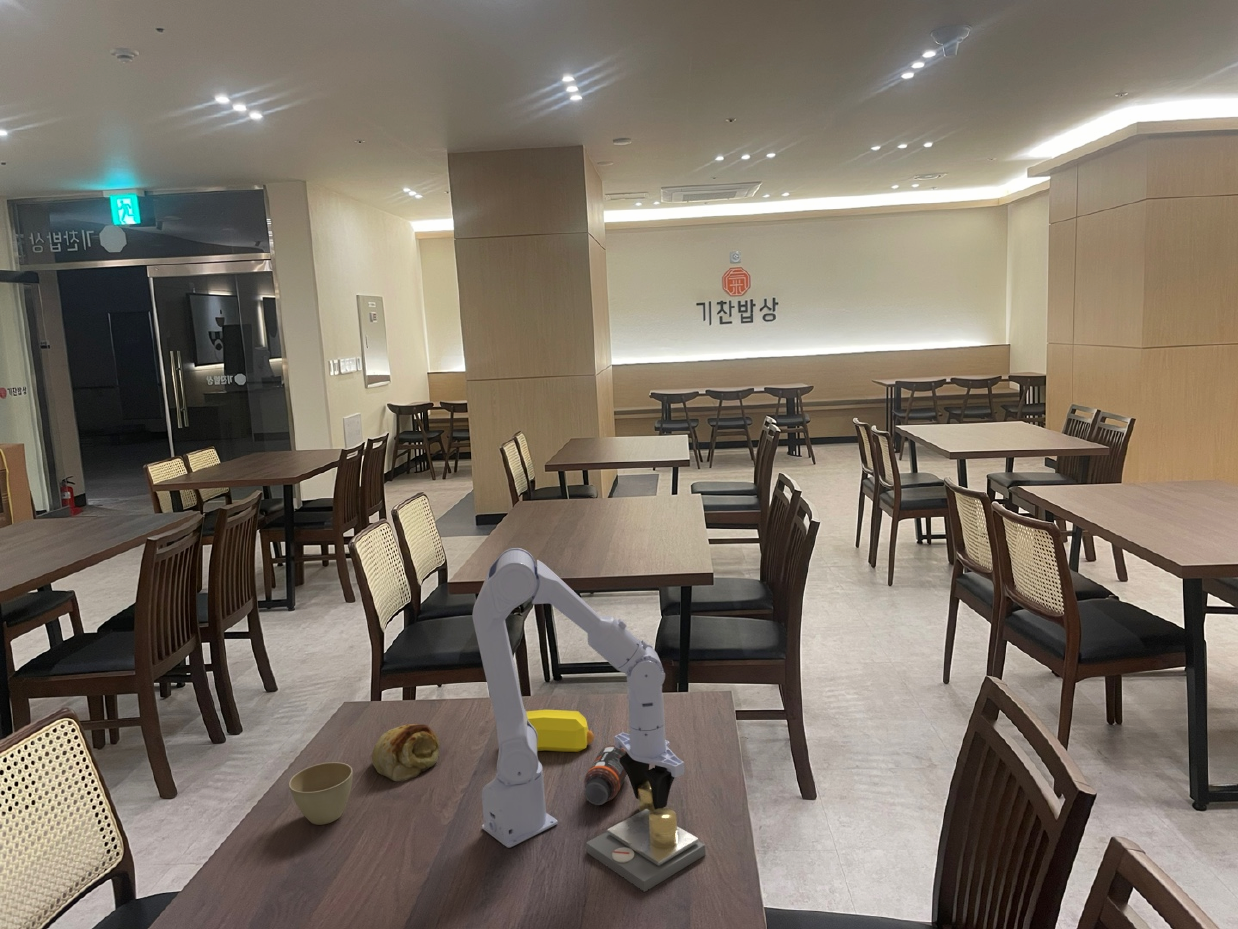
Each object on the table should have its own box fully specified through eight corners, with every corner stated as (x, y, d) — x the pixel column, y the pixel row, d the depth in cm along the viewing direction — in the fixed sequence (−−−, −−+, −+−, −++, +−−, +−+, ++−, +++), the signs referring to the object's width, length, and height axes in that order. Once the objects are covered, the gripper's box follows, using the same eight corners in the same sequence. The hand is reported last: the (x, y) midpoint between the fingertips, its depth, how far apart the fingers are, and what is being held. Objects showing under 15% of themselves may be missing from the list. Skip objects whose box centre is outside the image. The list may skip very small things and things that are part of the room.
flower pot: (368, 803, 148) (364, 763, 147) (334, 836, 138) (329, 795, 137) (317, 798, 151) (312, 759, 150) (280, 830, 141) (275, 789, 140)
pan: (658, 868, 123) (658, 862, 123) (607, 835, 132) (607, 829, 132) (698, 844, 128) (698, 838, 128) (646, 814, 137) (646, 808, 137)
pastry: (421, 785, 153) (417, 742, 152) (357, 780, 156) (352, 738, 155) (454, 746, 167) (450, 707, 165) (395, 743, 170) (390, 704, 168)
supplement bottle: (602, 739, 152) (583, 771, 141) (635, 750, 150) (617, 784, 140) (595, 768, 153) (575, 803, 142) (627, 780, 152) (609, 816, 141)
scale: (644, 892, 120) (643, 879, 120) (586, 852, 130) (585, 840, 130) (705, 855, 128) (704, 842, 128) (646, 820, 138) (645, 808, 138)
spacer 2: (662, 852, 125) (661, 826, 124) (644, 840, 128) (643, 815, 127) (683, 841, 127) (682, 816, 127) (665, 830, 131) (663, 805, 130)
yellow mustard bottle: (592, 756, 160) (597, 736, 167) (590, 722, 159) (594, 703, 166) (496, 757, 162) (505, 738, 169) (493, 723, 161) (502, 705, 168)
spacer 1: (655, 819, 138) (654, 796, 137) (634, 812, 140) (632, 789, 140) (668, 807, 141) (667, 784, 140) (648, 801, 143) (646, 778, 143)
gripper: (696, 728, 135) (700, 809, 137) (635, 701, 146) (639, 776, 148) (663, 744, 131) (668, 827, 133) (602, 715, 142) (607, 792, 144)
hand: (651, 802), depth 140 cm, fingers closed on spacer 1, 4 cm apart
